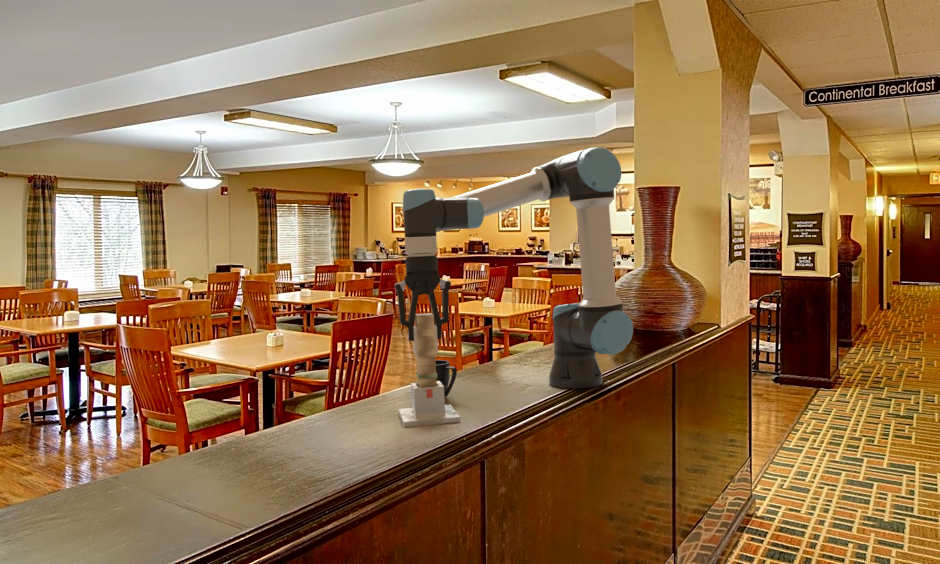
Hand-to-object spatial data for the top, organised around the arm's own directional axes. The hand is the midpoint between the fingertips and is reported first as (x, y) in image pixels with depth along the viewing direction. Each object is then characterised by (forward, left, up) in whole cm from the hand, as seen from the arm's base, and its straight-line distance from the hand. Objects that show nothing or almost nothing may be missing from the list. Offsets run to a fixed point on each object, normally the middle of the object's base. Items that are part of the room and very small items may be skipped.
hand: (425, 353), depth 160 cm
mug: (-6, -20, -16) cm, 26 cm away
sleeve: (0, 0, -15) cm, 15 cm away
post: (0, 0, -10) cm, 10 cm away
